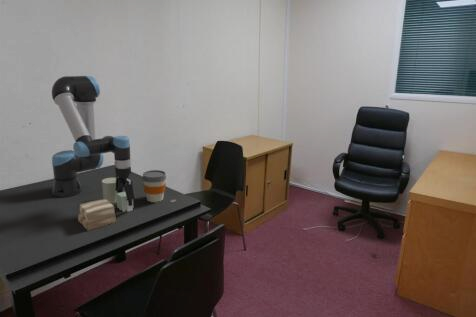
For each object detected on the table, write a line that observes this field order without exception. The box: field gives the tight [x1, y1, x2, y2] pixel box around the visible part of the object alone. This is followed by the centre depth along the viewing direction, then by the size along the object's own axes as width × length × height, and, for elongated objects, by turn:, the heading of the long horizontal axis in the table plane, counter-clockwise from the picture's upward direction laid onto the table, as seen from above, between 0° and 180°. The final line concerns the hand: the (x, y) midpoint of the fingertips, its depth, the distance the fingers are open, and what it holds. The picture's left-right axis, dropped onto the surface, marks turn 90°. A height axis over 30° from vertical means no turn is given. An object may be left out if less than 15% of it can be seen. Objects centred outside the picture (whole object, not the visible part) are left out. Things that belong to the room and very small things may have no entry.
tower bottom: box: [77, 211, 117, 231], centre depth 165 cm, size 13×13×4 cm
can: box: [101, 177, 117, 204], centre depth 189 cm, size 9×9×12 cm
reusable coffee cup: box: [142, 169, 167, 203], centre depth 192 cm, size 13×13×15 cm
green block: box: [116, 191, 134, 212], centre depth 180 cm, size 6×6×8 cm
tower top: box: [78, 197, 116, 222], centre depth 164 cm, size 12×12×4 cm
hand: (125, 207), depth 181 cm, fingers open, 9 cm apart
